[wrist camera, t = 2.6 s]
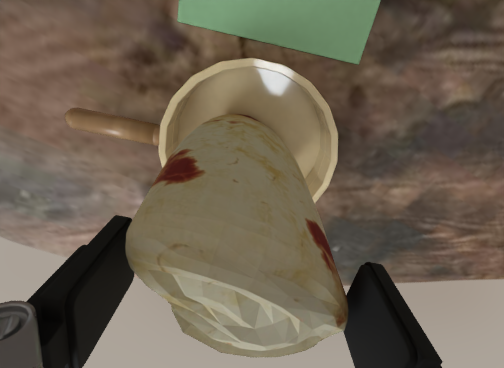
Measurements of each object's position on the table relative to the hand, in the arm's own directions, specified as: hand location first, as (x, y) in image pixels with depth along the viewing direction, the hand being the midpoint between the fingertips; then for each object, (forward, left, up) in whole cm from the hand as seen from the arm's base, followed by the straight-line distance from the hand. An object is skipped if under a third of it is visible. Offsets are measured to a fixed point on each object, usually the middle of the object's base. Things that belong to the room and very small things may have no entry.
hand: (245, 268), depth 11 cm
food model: (0, 0, -18) cm, 18 cm away
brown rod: (-12, 0, -15) cm, 19 cm away
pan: (0, 0, -18) cm, 18 cm away
